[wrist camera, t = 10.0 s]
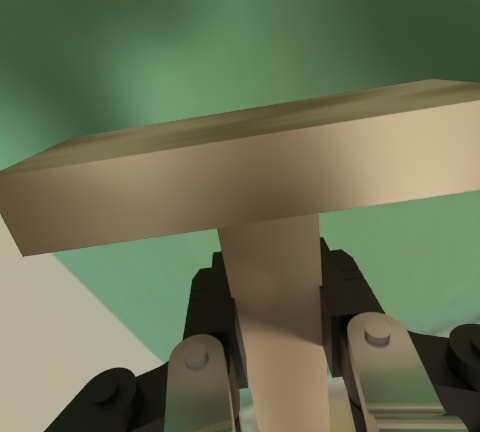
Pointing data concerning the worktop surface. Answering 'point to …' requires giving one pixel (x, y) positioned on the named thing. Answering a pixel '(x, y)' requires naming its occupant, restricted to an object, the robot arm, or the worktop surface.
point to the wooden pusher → (255, 205)
